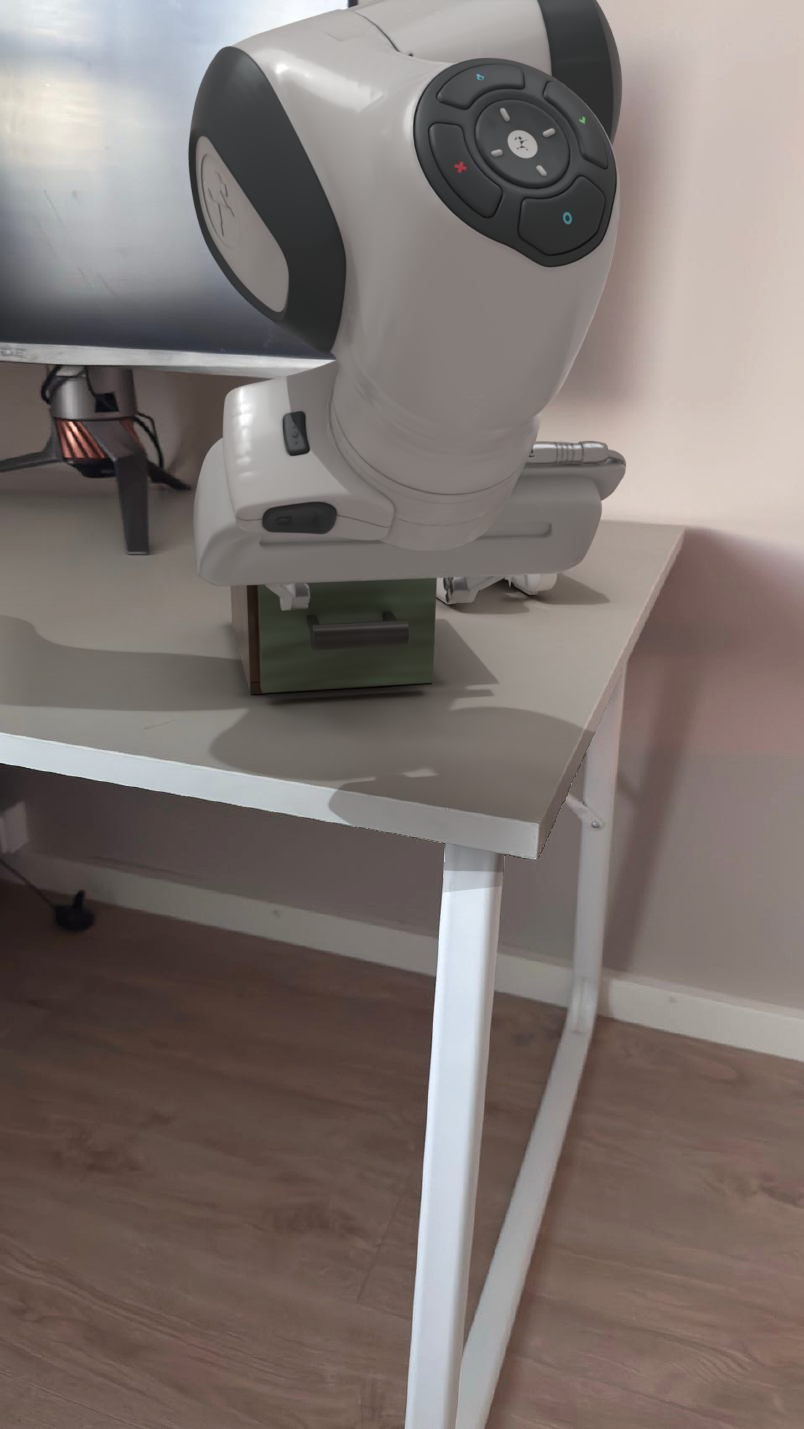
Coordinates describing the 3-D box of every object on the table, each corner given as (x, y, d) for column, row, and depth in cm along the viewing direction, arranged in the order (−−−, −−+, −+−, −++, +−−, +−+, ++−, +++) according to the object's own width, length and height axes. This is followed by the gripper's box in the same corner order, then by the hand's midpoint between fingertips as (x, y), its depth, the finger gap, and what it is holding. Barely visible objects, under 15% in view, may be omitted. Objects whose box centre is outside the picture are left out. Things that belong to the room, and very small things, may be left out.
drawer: (449, 707, 69) (455, 588, 66) (269, 719, 67) (266, 596, 64) (390, 620, 85) (392, 522, 82) (243, 627, 83) (239, 526, 80)
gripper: (625, 390, 51) (540, 541, 64) (189, 389, 47) (190, 552, 59) (654, 503, 49) (560, 636, 62) (199, 514, 45) (198, 655, 57)
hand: (376, 595), depth 60 cm, fingers open, 8 cm apart
